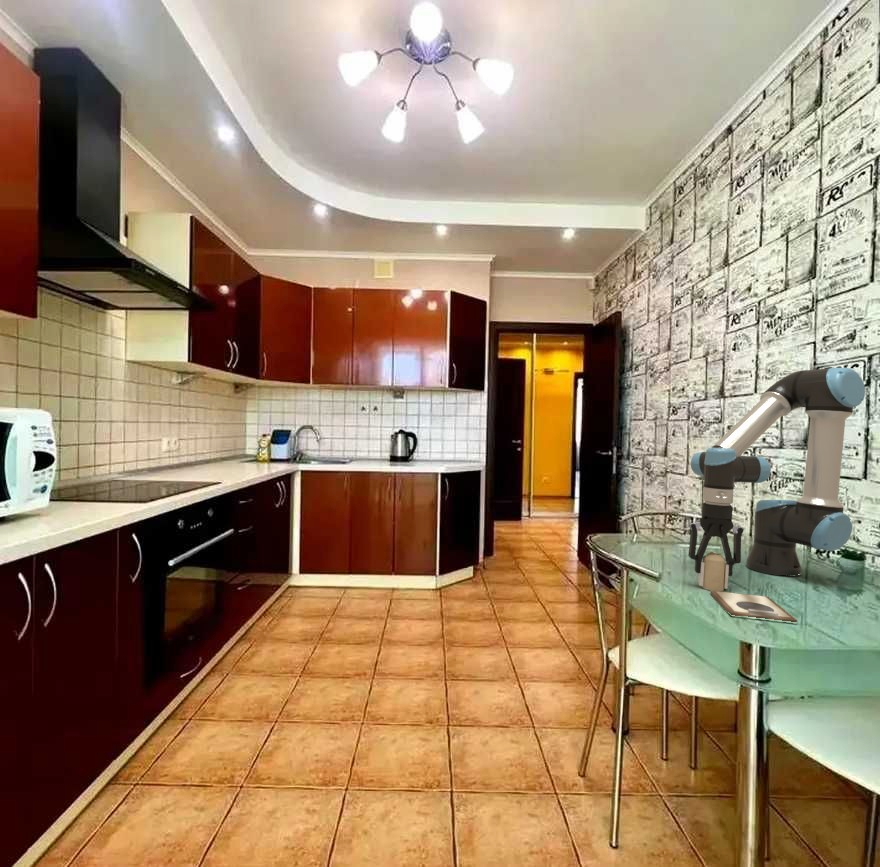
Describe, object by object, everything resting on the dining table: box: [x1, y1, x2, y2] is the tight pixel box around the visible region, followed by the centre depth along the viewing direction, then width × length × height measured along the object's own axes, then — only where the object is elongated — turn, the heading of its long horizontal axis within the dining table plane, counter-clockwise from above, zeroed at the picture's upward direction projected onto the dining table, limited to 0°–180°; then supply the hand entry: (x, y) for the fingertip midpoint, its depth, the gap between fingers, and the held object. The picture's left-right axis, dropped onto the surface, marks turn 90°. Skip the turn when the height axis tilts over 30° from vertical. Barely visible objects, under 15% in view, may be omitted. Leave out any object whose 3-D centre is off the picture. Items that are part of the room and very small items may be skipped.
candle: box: [701, 551, 726, 592], centre depth 151 cm, size 6×6×10 cm
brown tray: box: [709, 591, 798, 623], centre depth 135 cm, size 14×18×2 cm
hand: (712, 585), depth 151 cm, fingers closed on candle, 5 cm apart
